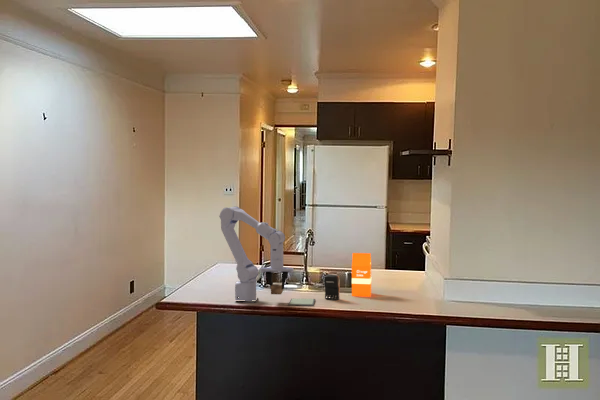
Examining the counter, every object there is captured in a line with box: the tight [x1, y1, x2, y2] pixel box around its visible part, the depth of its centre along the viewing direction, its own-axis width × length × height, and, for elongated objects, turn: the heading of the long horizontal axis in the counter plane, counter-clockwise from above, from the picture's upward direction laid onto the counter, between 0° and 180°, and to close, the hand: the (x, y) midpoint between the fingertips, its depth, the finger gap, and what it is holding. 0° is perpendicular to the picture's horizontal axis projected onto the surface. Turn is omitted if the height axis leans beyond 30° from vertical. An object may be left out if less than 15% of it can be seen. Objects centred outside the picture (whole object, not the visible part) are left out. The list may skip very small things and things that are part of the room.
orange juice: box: [351, 252, 372, 298], centre depth 249 cm, size 8×9×20 cm
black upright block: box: [323, 273, 341, 301], centre depth 240 cm, size 7×4×11 cm, turn 64°
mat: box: [288, 298, 316, 307], centre depth 234 cm, size 11×11×1 cm
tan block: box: [270, 282, 284, 295], centre depth 234 cm, size 4×8×4 cm, turn 175°
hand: (277, 288), depth 234 cm, fingers closed on tan block, 4 cm apart
